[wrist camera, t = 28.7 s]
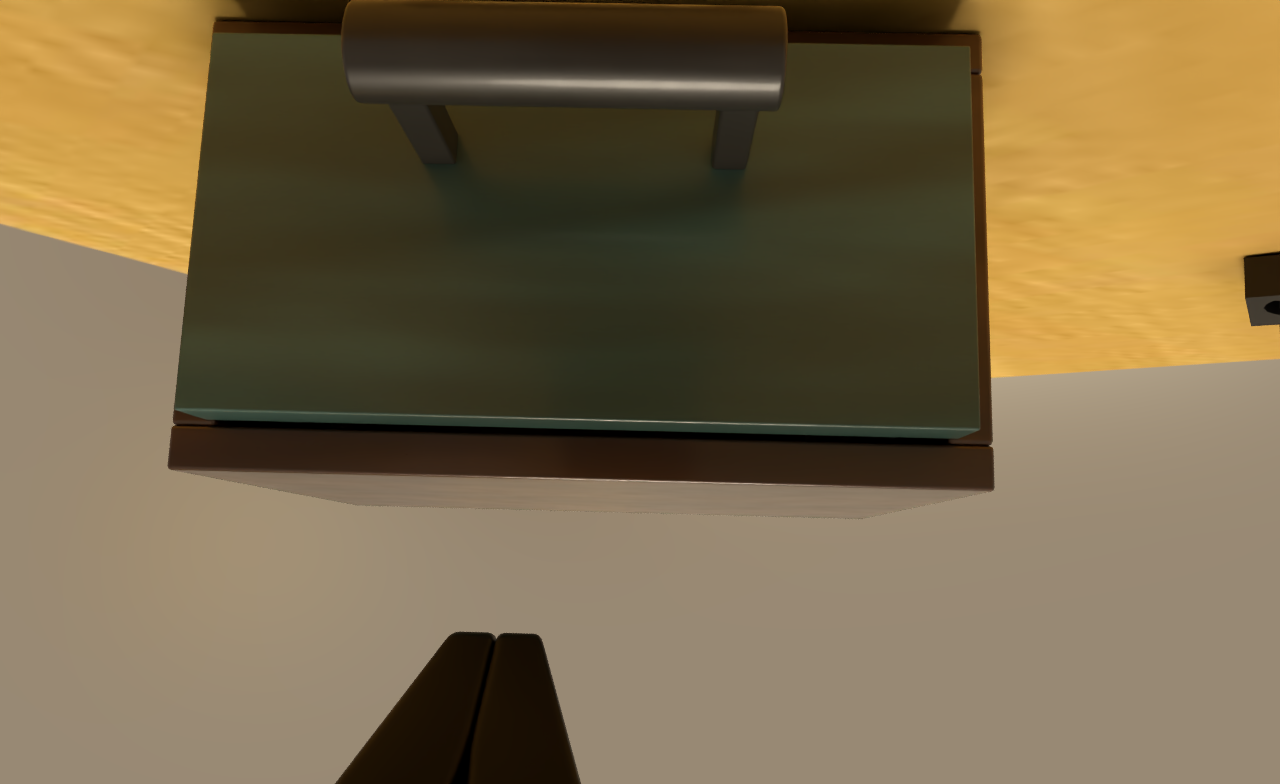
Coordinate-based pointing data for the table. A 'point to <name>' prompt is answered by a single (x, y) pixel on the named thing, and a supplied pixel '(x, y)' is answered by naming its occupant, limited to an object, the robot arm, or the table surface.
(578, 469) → the cabinet
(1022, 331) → the table surface
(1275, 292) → the black small parts set
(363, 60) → the drawer
